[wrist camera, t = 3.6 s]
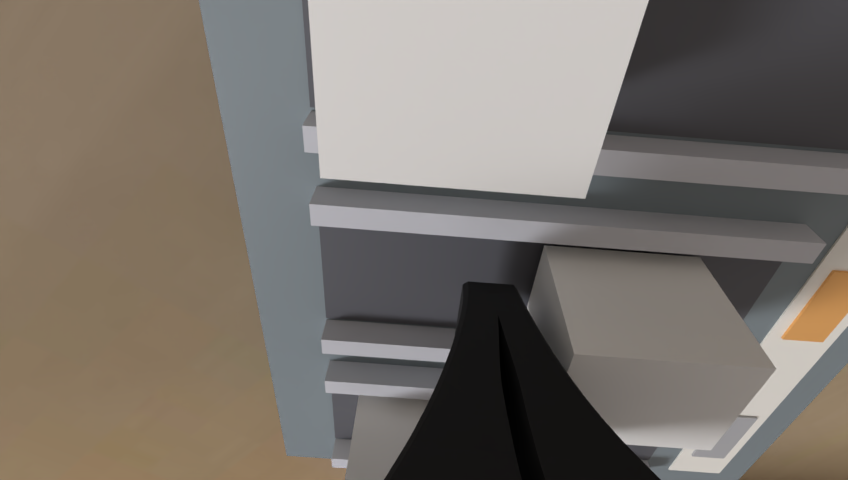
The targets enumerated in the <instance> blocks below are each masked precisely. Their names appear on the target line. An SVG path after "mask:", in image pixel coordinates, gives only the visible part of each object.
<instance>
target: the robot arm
mask: <svg viewBox="0 0 848 480" xmlns="http://www.w3.org/2000/svg"><path fill="white" fill-rule="evenodd" d="M384 480H661V479H660V478H659V477H658V476H657V475H656V474H655V473H654V472H653V471H652V470H651V469H650V468H649V467H648V466H647V465H646V464H645V463H644V462H643V461H642V460H641V459H640V458H639V457H638V456H637V455H636V454H635V453H634V452H633V451H632V450H631V449H630V448H629V447H628V446H627V445H626V444H625V443H624V442H623V441H622V440H621V439H620V437H619V436H618V435H617V434H616V433H615V432H614V431H613V430H612V428H611V427H610V426H609V425H608V424H607V423H606V422H605V421H604V419H603V418H602V417H601V416H600V415H599V413H598V412H597V411H596V410H595V409H594V407H593V406H592V405H591V404H590V402H589V401H588V400H587V399H586V397H585V396H584V395H583V393H582V392H581V391H580V390H579V388H578V387H577V386H576V384H575V383H574V381H573V380H572V379H571V377H570V376H569V374H568V373H567V372H566V370H565V369H564V367H563V366H562V365H561V363H560V362H559V360H558V359H557V357H556V356H555V354H554V353H553V351H552V349H551V348H550V346H549V345H548V343H547V342H546V340H545V338H544V337H543V335H542V334H541V332H540V330H539V329H538V327H537V325H536V323H535V322H534V320H533V318H532V316H531V315H530V313H529V311H528V309H527V307H526V305H525V304H524V302H523V300H522V298H521V296H520V294H519V292H518V290H517V288H516V287H515V286H514V285H511V284H497V283H484V282H470V281H468V282H466V283H464V284H463V285H462V292H461V298H460V305H459V311H458V318H457V324H456V330H455V337H454V340H453V343H452V346H451V349H450V352H449V355H448V357H447V360H446V362H445V365H444V368H443V370H442V373H441V375H440V378H439V380H438V382H437V385H436V387H435V389H434V391H433V393H432V395H431V398H430V400H429V402H428V404H427V406H426V408H425V410H424V412H423V414H422V415H421V417H420V419H419V421H418V423H417V425H416V427H415V429H414V431H413V432H412V434H411V436H410V438H409V440H408V441H407V443H406V445H405V446H404V448H403V450H402V451H401V453H400V454H399V456H398V458H397V459H396V461H395V463H394V464H393V466H392V467H391V469H390V471H389V472H388V474H387V475H386V477H385V479H384Z"/></svg>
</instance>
